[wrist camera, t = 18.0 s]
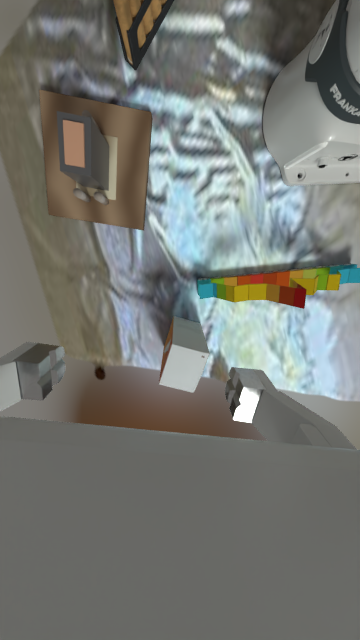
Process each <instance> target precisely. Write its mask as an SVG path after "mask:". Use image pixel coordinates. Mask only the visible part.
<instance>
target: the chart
mask: <svg viewBox="0 0 360 640" xmlns="http://www.w3.org/2000/svg"><path fill="white" fill-rule="evenodd" d="M343 283H360V268H357V265H356V264H343V265H339V264H337V265H328V266H318V267H315V268H313V267H308V268H302V269H298V268H297V269H290V270H287V271H286V270H280V271H277V272H273V271H269V272H262V273H260V272H259V273H251V274H248V275H247V274H243V275H242V274H240V275H238V276H234V275H230V276H226V277H220V276H219V277H213V278H203V279H202V278H201V279H199V280H197V286H198V295H199V296H200V299H203V298H210V297H213V295H214V297H216V298H220V299H224V300H227V301H231V302H239V301H246V300H269V301H273V302H278V303H282V304H286V305H291V306H295V307H299V308H303V309H304V306H305V298H306V295H314V293H315V292H316V291H317V290H338V289H339V284H343Z"/></svg>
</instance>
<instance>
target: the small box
mask: <svg viewBox="0 0 360 640" xmlns="http://www.w3.org/2000/svg"><path fill="white" fill-rule="evenodd" d="M209 354H210V353H209V350H208V347H207V343H206V340H205V337H204V333H203V330H202V327H201V324H200V323H197V322H194V321H190V320H187V319H183V318H180V317H176V316H173V319H172V323H171V326H170V330H169V333H168V336H167V339H166V342H165V345H164V351H163V358H162V365H161V372H160V380H159V384H160V385H164V386H168V387H172V388H176V389H180V390H184V391H189V392H192V393H193V392H194V391H195V389H196V386H197V384H198V382H199V379H200V377H201V375H202V373H203V370H204V367H205V364H206V362H207V359H208V357H209Z"/></svg>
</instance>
